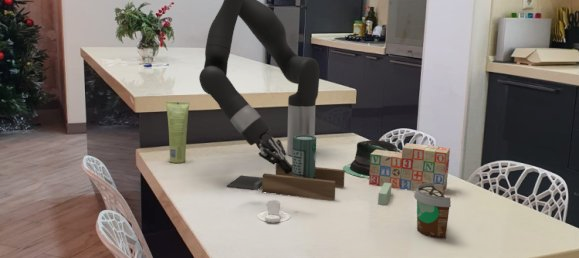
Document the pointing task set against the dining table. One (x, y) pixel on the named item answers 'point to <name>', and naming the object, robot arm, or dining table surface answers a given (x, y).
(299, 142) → the can
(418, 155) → the stack of blocks
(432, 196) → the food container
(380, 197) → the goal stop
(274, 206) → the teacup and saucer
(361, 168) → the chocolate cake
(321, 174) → the lane
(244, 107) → the robot arm
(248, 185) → the mat
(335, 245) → the dining table surface
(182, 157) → the tube
